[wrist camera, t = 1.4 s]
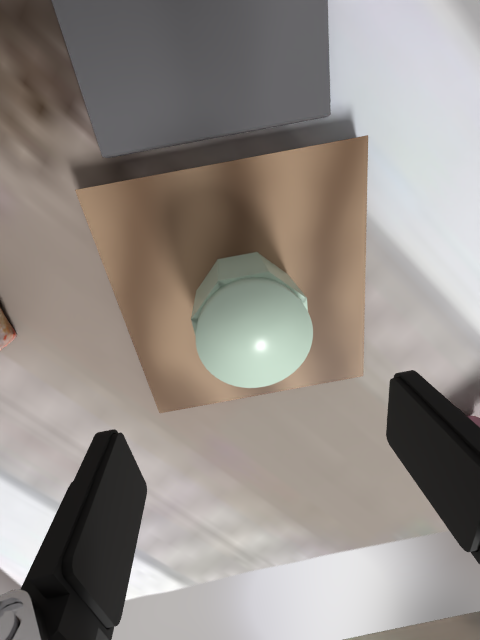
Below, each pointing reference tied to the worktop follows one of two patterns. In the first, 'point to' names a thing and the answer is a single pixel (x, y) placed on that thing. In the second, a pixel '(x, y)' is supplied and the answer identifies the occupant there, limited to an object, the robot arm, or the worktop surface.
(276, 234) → the post stand
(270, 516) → the worktop surface
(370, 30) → the worktop surface
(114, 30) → the mat
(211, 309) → the cap
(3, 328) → the food item
